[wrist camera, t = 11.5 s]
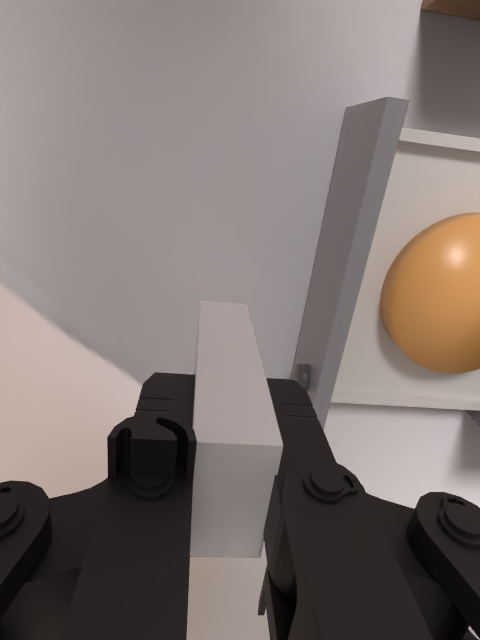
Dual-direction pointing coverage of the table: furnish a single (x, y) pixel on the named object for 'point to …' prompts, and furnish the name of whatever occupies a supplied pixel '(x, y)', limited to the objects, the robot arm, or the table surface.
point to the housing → (474, 415)
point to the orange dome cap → (437, 296)
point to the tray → (380, 260)
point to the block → (454, 7)
